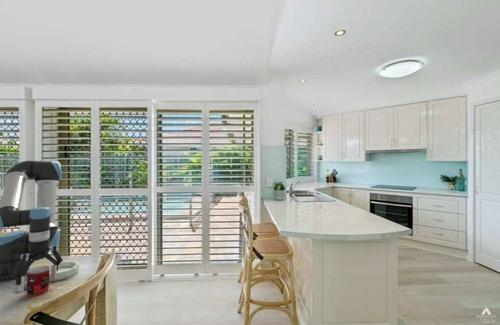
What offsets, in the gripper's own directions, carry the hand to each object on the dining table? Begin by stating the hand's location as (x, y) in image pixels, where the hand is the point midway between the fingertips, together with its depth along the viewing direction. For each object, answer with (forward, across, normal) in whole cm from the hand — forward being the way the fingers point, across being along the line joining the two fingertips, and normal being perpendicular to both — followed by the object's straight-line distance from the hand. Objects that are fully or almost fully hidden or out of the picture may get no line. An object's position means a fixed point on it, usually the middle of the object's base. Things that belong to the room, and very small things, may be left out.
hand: (38, 284), depth 113 cm
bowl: (+4, +16, +10) cm, 20 cm away
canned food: (+4, 0, 0) cm, 4 cm away
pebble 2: (+4, 0, +9) cm, 10 cm away
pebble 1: (+4, +2, +12) cm, 13 cm away
